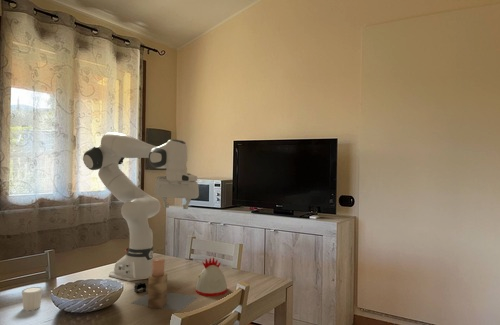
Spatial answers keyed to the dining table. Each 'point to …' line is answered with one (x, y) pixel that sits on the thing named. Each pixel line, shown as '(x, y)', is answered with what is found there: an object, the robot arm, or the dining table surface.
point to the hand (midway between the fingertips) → (175, 208)
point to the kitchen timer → (211, 280)
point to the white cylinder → (32, 298)
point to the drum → (158, 267)
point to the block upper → (157, 283)
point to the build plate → (139, 286)
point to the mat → (170, 301)
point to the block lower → (157, 299)
